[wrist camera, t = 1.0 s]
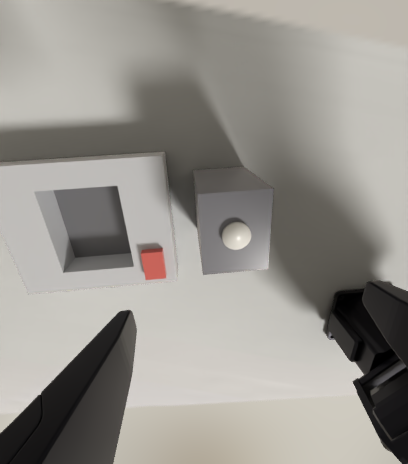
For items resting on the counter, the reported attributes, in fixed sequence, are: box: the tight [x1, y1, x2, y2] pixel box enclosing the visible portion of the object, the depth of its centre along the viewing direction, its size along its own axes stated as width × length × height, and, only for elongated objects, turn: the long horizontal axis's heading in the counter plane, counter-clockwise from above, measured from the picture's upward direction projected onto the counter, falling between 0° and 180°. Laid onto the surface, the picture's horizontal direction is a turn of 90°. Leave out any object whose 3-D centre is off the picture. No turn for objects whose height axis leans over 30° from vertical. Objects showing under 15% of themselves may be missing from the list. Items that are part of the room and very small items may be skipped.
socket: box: [0, 152, 178, 295], centre depth 18 cm, size 12×10×3 cm
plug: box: [193, 166, 274, 275], centre depth 17 cm, size 4×5×7 cm
